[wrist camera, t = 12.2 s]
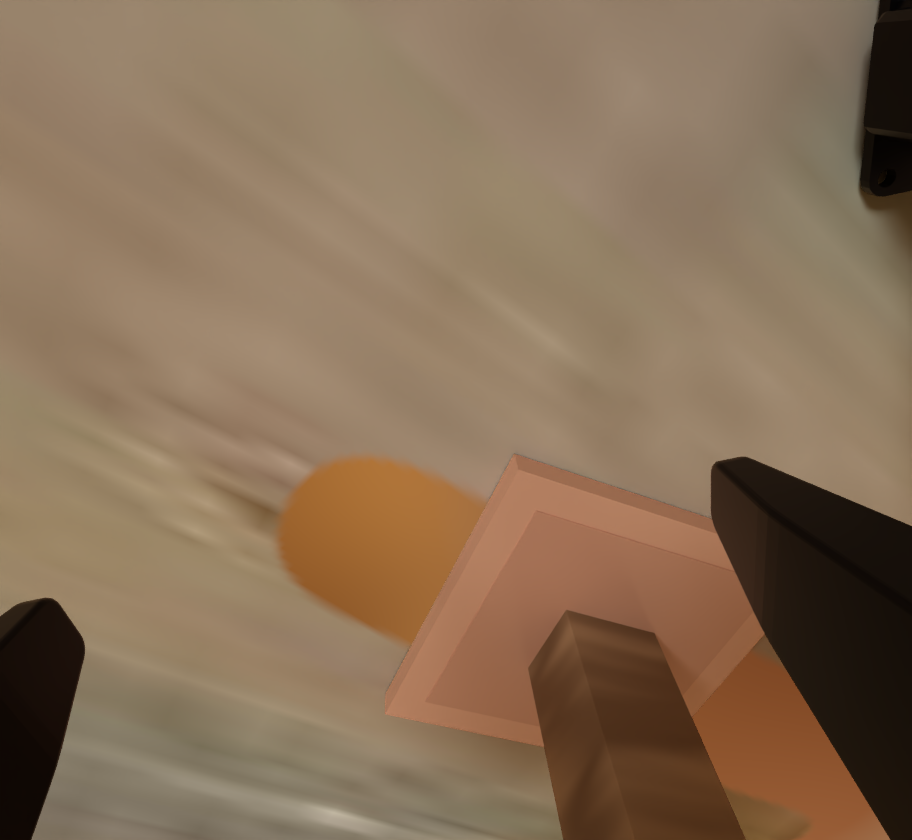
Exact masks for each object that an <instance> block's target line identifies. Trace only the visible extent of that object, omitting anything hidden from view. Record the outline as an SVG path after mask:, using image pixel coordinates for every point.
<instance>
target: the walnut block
mask: <svg viewBox="0 0 912 840" xmlns="http://www.w3.org/2000/svg"><path fill="white" fill-rule="evenodd" d="M528 671H529V676H530V681H531V686H532V690H533V695H534V700H535V705H536V710H537V714H538V719H539V724H540V729H541V734H542V739H543V743H544V748H545V753H546V758H547V763H548V768H549V772H550V777H551V782H552V787H553V792H554V796H555V801H556V806H557V811H558V816H559V821H560V825H561V830H562V835H563V840H746V839H745V837H744V834H743V832H742V830H741V828H740V825H739V823H738V821H737V819H736V816H735V814H734V812H733V810H732V807H731V805H730V803H729V801H728V798H727V796H726V794H725V791H724V789H723V787H722V785H721V782H720V780H719V778H718V776H717V773H716V771H715V769H714V767H713V764H712V762H711V760H710V758H709V755H708V753H707V751H706V749H705V746H704V744H703V742H702V739H701V737H700V735H699V733H698V730H697V728H696V726H695V724H694V722H693V719H692V717H691V715H690V712H689V710H688V708H687V706H686V703H685V701H684V699H683V696H682V694H681V692H680V690H679V687H678V685H677V683H676V681H675V678H674V676H673V674H672V672H671V669H670V667H669V665H668V663H667V660H666V658H665V656H664V654H663V651H662V649H661V647H660V644H659V642H658V640H657V638H656V635H655V633H652V632H649V631H645V630H641V629H637V628H633V627H630V626H626V625H622V624H618V623H615V622H611V621H607V620H603V619H599V618H596V617H592V616H588V615H584V614H581V613H577V612H573V611H569V610H566V611H565V612H564V614H563V615H562V617H561V618H560V620H559V621H558V623H557V624H556V626H555V628H554V629H553V631H552V632H551V634H550V635H549V637H548V638H547V640H546V641H545V643H544V644H543V646H542V647H541V649H540V650H539V652H538V653H537V655H536V656H535V658H534V660H533V661H532V663H531V664H530V666H529V667H528Z"/></svg>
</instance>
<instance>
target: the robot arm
mask: <svg viewBox="0 0 912 840" xmlns="http://www.w3.org/2000/svg"><path fill="white" fill-rule="evenodd" d="M864 126H865V128H866V133H865V142H864V151H863V160H862V169H861V178H860V181H861V187H862V189H863V190H864V191H865V192H867V193H868V194H872V195H875V196H888V195H893V194H898V193H902V192H907V191H912V0H880V8H879V17H878V21H877V23H876V24H875V26H874V34H873V43H872V52H871V61H870V70H869V80H868V89H867V98H866V107H865V116H864ZM884 170H886V171H887V175H886V178H885V180H884V181H883V182H882V183H880V184H878V178H879V175H880V174H881V173H882V172H883V171H884ZM711 516H712V521H713V524H714V527H715V530H716V532H717V534H718V536H719V539H720V541H721V543H722V545H723V547H724V549H725V552H726V554H727V556H728V558H729V560H730V562H731V564H732V567H733V569H734V571H735V573H736V575H737V577H738V580H739V582H740V584H741V586H742V588H743V590H744V592H745V595H746V597H747V599H748V601H749V603H750V605H751V608H752V610H753V612H754V614H755V616H756V618H757V620H758V622H759V624H760V626H761V628H762V630H763V632H764V633H765V635H766V637H767V638H768V640H769V642H770V644H771V645H772V647H773V649H774V650H775V652H776V654H777V655H778V657H779V658H780V660H781V662H782V663H783V665H784V667H785V668H786V670H787V672H788V673H789V675H790V676H791V678H792V680H793V681H794V683H795V685H796V686H797V688H798V689H799V691H800V693H801V694H802V696H803V698H804V699H805V701H806V702H807V704H808V705H809V707H810V709H811V711H812V712H813V714H814V716H815V717H816V719H817V720H818V722H819V724H820V725H821V727H822V729H823V730H824V732H825V734H826V735H827V737H828V738H829V740H830V742H831V743H832V745H833V747H834V748H835V750H836V751H837V753H838V755H839V756H840V758H841V760H842V761H843V763H844V765H845V766H846V768H847V769H848V771H849V772H850V774H851V776H852V778H853V779H854V781H855V782H856V784H857V786H858V787H859V789H860V791H861V792H862V794H863V796H864V797H865V799H866V800H867V802H868V804H869V805H870V807H871V808H872V810H873V812H874V813H875V815H876V817H877V818H878V820H879V822H880V823H881V825H882V827H883V828H884V830H885V831H886V833H887V835H888V836H889V838H890V840H912V526H910V525H908V524H905V523H903V522H901V521H898V520H896V519H894V518H891V517H889V516H886V515H884V514H882V513H879V512H877V511H875V510H872V509H870V508H867V507H865V506H863V505H860V504H858V503H855V502H853V501H851V500H848V499H846V498H844V497H841V496H839V495H836V494H834V493H832V492H829V491H827V490H825V489H822V488H820V487H817V486H815V485H813V484H810V483H808V482H805V481H803V480H801V479H798V478H796V477H794V476H791V475H789V474H786V473H784V472H782V471H779V470H777V469H775V468H772V467H770V466H767V465H765V464H763V463H760V462H758V461H756V460H753V459H751V458H748V457H737V458H732V459H727V460H722V461H718V462H716V463H715V464H714V465H713V466H712V470H711ZM84 656H85V645H84V641H83V638H82V636H81V634H80V633H79V631H78V630H77V629H76V627H75V626H74V624H73V623H72V621H71V620H70V619H69V617H68V616H67V614H66V613H65V611H64V610H63V608H62V607H61V606H60V604H59V603H58V602H57V601H55V600H54V599H52V598H41V599H36V600H31V601H26V602H22V603H19V604H17V605H15V606H14V607H12V608H11V609H10V610H8V611H7V612H5V613H4V614H3V615H1V616H0V840H31V839H32V836H33V833H34V831H35V828H36V825H37V822H38V819H39V816H40V814H41V811H42V808H43V805H44V802H45V799H46V796H47V794H48V791H49V788H50V785H51V782H52V779H53V776H54V773H55V770H56V767H57V763H58V760H59V756H60V753H61V749H62V745H63V741H64V737H65V733H66V729H67V725H68V721H69V717H70V713H71V709H72V705H73V701H74V697H75V693H76V689H77V685H78V681H79V677H80V672H81V668H82V664H83V660H84Z"/></svg>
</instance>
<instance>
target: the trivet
mask: <svg viewBox="0 0 912 840" xmlns="http://www.w3.org/2000/svg"><path fill="white" fill-rule="evenodd" d="M566 610H569V611H573V612H577V613H581V614H584V615H588V616H592V617H596V618H599V619H603V620H607V621H611V622H615V623H618V624H622V625H626V626H630V627H633V628H637V629H641V630H645V631H649V632H652V633H655V635H656V638H657V640H658V642H659V644H660V647H661V649H662V651H663V654H664V656H665V658H666V660H667V663H668V665H669V667H670V669H671V672H672V674H673V676H674V678H675V681H676V683H677V685H678V687H679V690H680V692H681V694H682V696H683V699H684V701H685V703H686V706H687V708H688V710H689V712H690V715H691V717H693V716H694V715H695V713H696V712H697V711H698V710H699V709H700V708H701V707H702V705H703V704H704V703H705V702H706V701H707V700H708V698H709V697H710V696H711V695H712V694H713V693H714V692H715V690H716V689H717V688H718V687H719V686H720V685H721V684H722V682H723V681H724V680H725V679H726V678H727V677H728V675H729V674H730V673H731V672H732V671H733V670H734V669H735V667H736V666H737V665H738V664H739V663H740V662H741V660H742V659H743V658H744V657H745V656H746V655H747V654H748V653H749V651H750V650H751V649H752V648H753V647H754V646H755V644H756V643H757V642H758V641H759V640H760V639H761V638H762V636H763V635H764V634H765V633H764V632H763V630H762V628H761V626H760V624H759V622H758V620H757V618H756V616H755V614H754V612H753V610H752V608H751V605H750V603H749V601H748V599H747V597H746V595H745V592H744V590H743V588H742V586H741V584H740V582H739V580H738V577H737V575H736V573H735V571H734V569H733V567H732V564H731V562H730V560H729V558H728V556H727V554H726V552H725V549H724V547H723V545H722V543H721V541H720V539H719V536H718V534H717V532H716V530H715V527H714V524H713V521H712V519H710V518H707V517H704V516H701V515H698V514H695V513H692V512H689V511H686V510H683V509H680V508H677V507H674V506H671V505H668V504H665V503H662V502H659V501H656V500H653V499H650V498H647V497H644V496H641V495H638V494H635V493H631V492H628V491H625V490H622V489H619V488H616V487H613V486H610V485H607V484H604V483H601V482H598V481H595V480H592V479H589V478H586V477H583V476H580V475H577V474H574V473H571V472H568V471H565V470H562V469H559V468H556V467H553V466H550V465H547V464H544V463H540V462H537V461H534V460H531V459H528V458H525V457H522V456H519V455H516V454H514V455H513V457H512V459H511V460H510V462H509V464H508V466H507V468H506V470H505V472H504V473H503V475H502V477H501V479H500V481H499V483H498V485H497V487H496V488H495V490H494V492H493V494H492V496H491V498H490V500H489V501H488V503H487V505H486V507H485V509H484V511H483V513H482V515H481V517H480V518H479V520H478V522H477V524H476V526H475V528H474V530H473V531H472V533H471V535H470V537H469V539H468V541H467V543H466V544H465V546H464V549H463V550H462V552H461V554H460V556H459V558H458V560H457V561H456V563H455V565H454V567H453V569H452V571H451V572H450V575H449V576H448V578H447V580H446V582H445V584H444V586H443V588H442V589H441V591H440V593H439V595H438V597H437V599H436V601H435V603H434V604H433V606H432V608H431V610H430V612H429V614H428V616H427V617H426V619H425V621H424V623H423V625H422V627H421V629H420V630H419V632H418V634H417V636H416V638H415V640H414V642H413V643H412V645H411V647H410V649H409V651H408V653H407V655H406V657H405V658H404V660H403V662H402V664H401V666H400V668H399V670H398V671H397V673H396V675H395V677H394V679H393V681H392V683H391V685H390V686H389V688H388V690H387V692H386V696H385V714H387V715H391V716H396V717H401V718H406V719H411V720H416V721H420V722H425V723H430V724H435V725H440V726H445V727H449V728H454V729H459V730H464V731H469V732H474V733H479V734H483V735H488V736H493V737H498V738H503V739H508V740H512V741H517V742H522V743H527V744H532V745H537V746H541V747H544V743H543V739H542V734H541V729H540V724H539V719H538V714H537V710H536V705H535V700H534V695H533V690H532V686H531V681H530V676H529V671H528V667H529V666H530V664H531V663H532V661H533V660H534V658H535V656H536V655H537V653H538V652H539V650H540V649H541V647H542V646H543V644H544V643H545V641H546V640H547V638H548V637H549V635H550V634H551V632H552V631H553V629H554V628H555V626H556V624H557V623H558V621H559V620H560V618H561V617H562V615H563V614H564V612H565V611H566Z"/></svg>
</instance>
